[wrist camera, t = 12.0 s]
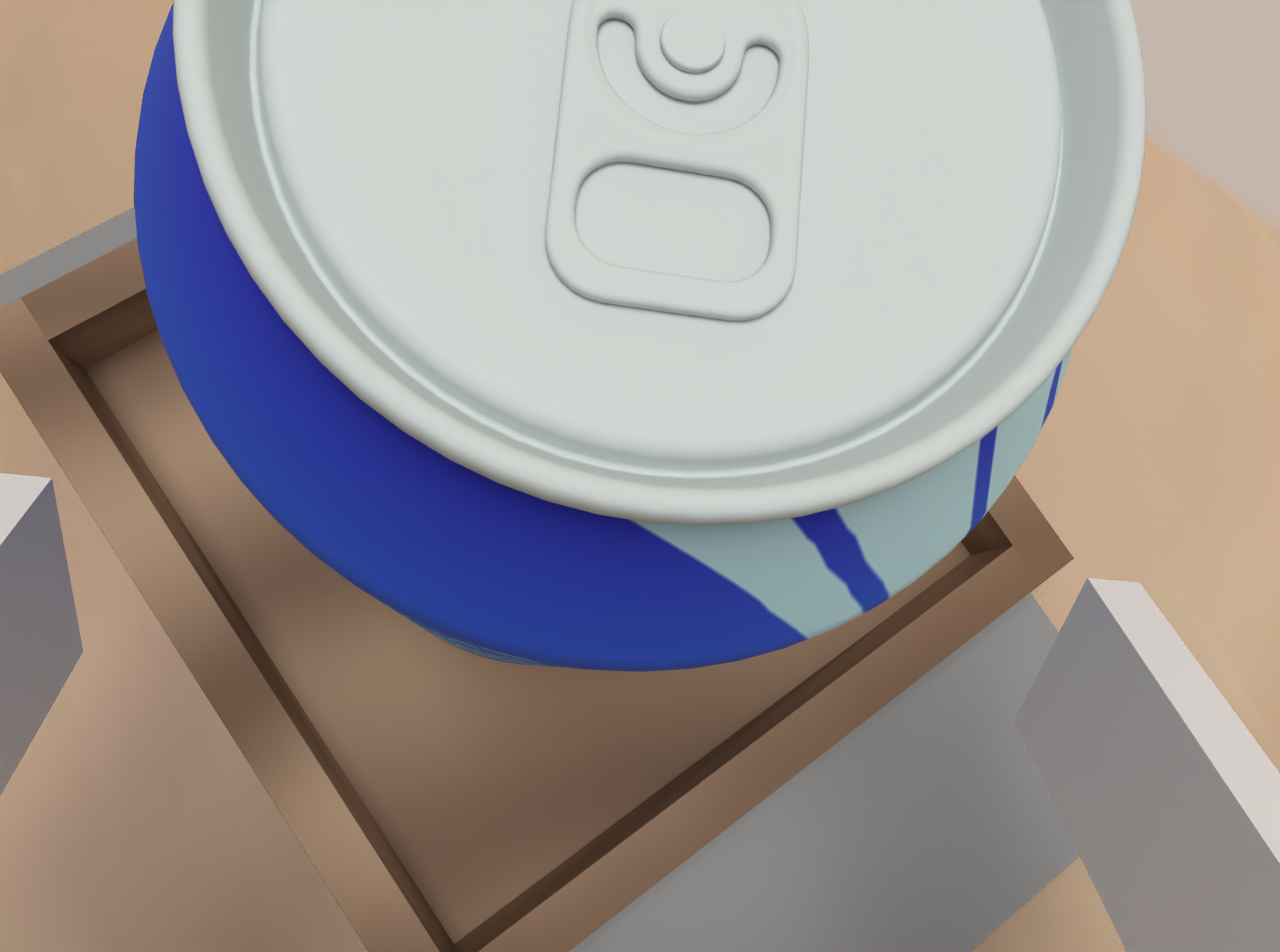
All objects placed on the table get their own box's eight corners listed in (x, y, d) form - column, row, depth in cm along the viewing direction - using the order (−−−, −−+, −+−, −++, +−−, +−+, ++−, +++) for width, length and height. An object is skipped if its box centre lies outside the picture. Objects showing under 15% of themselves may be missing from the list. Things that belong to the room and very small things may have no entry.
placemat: (-14, 293, 22) (-23, 286, 22) (591, -15, 26) (593, -26, 25) (603, 1260, 20) (605, 1272, 20) (1152, 780, 24) (1164, 782, 24)
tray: (26, 363, 22) (-31, 323, 19) (637, 38, 25) (655, -29, 23) (439, 1010, 20) (434, 1055, 18) (1014, 569, 24) (1074, 558, 22)
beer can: (257, 464, 21) (-329, -68, 6) (543, 215, 23) (683, -679, 8) (538, 750, 21) (717, 996, 6) (802, 475, 23) (1471, 98, 8)
